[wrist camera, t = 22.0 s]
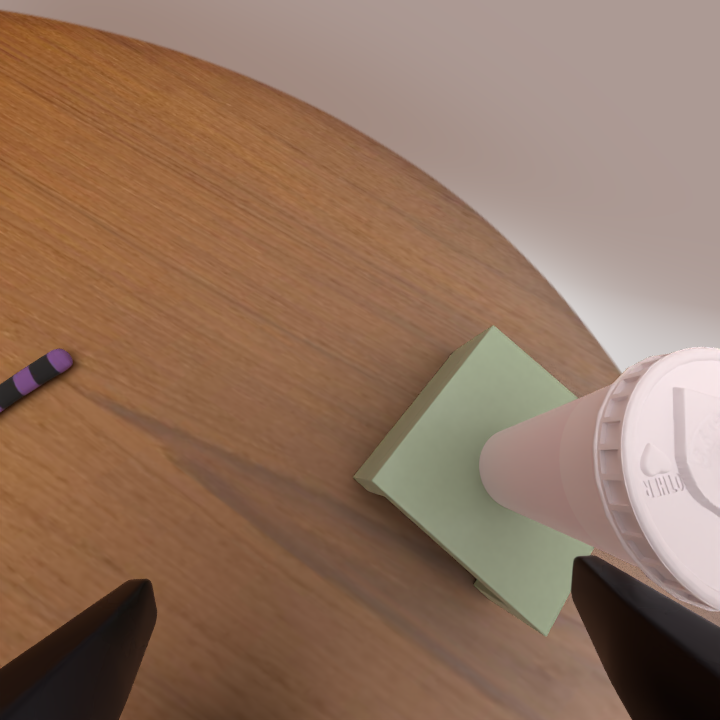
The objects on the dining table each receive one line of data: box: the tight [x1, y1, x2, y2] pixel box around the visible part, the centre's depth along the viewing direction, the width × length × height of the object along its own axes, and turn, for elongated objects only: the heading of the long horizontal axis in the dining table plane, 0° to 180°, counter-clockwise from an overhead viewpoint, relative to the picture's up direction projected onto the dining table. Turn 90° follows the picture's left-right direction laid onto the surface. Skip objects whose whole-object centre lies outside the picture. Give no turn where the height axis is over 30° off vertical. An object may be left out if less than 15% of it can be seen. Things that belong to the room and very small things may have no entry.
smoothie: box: [479, 347, 720, 611], centre depth 12 cm, size 6×6×14 cm
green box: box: [353, 325, 594, 636], centre depth 21 cm, size 10×10×5 cm
